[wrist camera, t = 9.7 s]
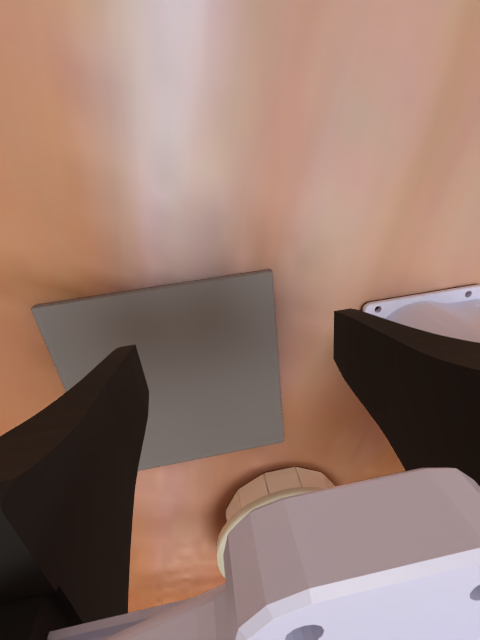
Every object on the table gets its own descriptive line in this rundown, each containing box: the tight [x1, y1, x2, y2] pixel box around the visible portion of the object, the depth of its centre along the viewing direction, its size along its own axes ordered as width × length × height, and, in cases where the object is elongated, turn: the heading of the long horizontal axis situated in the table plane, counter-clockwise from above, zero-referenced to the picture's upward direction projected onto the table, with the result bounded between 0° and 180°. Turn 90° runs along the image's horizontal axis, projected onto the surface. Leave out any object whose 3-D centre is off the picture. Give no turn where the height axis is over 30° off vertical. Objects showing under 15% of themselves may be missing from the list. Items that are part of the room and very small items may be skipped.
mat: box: [31, 269, 284, 471], centre depth 24 cm, size 15×15×1 cm
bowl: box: [226, 467, 335, 521], centre depth 31 cm, size 11×11×3 cm
